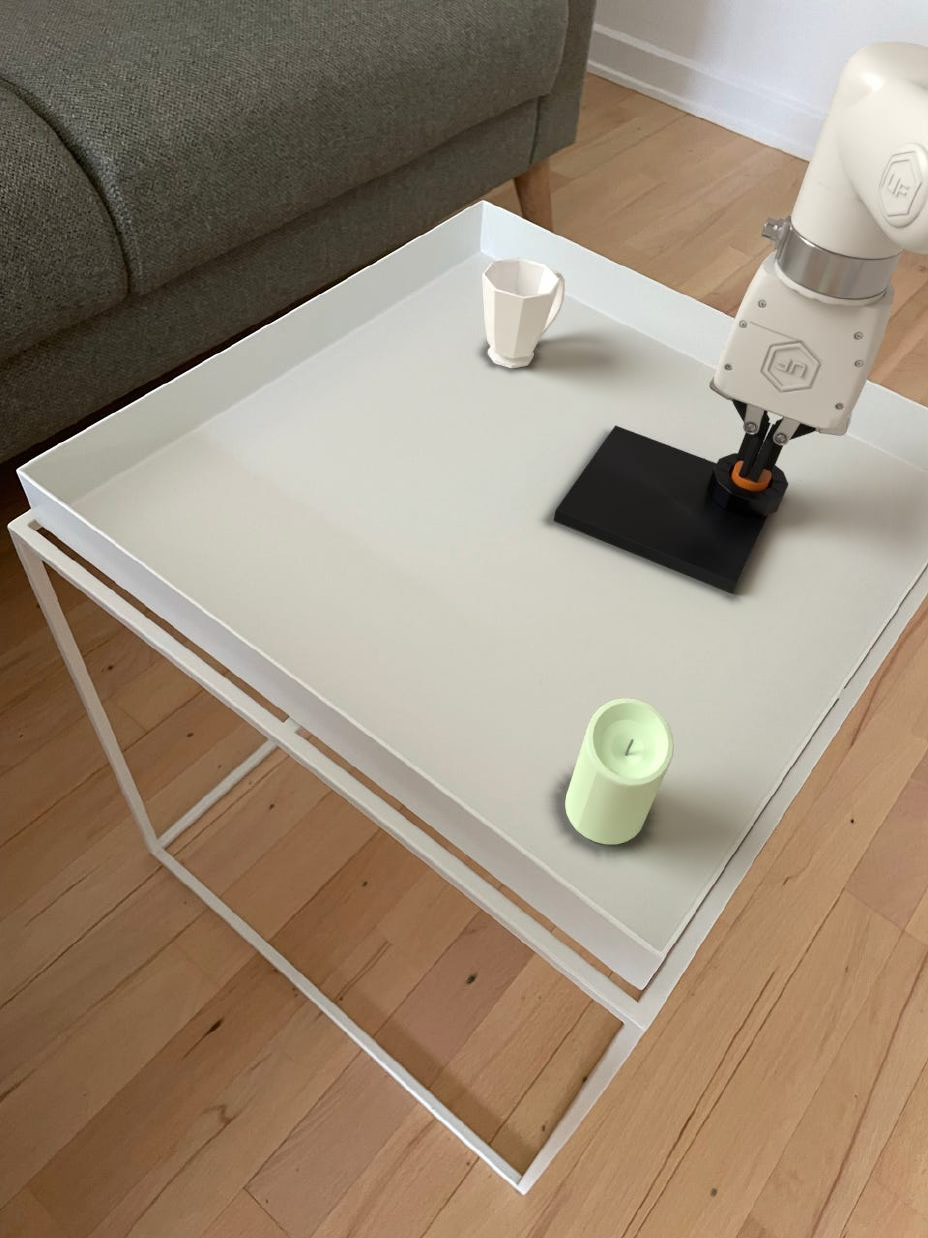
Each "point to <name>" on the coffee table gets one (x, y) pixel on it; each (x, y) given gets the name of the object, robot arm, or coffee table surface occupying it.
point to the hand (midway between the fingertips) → (752, 469)
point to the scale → (671, 507)
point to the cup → (519, 308)
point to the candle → (619, 771)
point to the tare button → (747, 482)
